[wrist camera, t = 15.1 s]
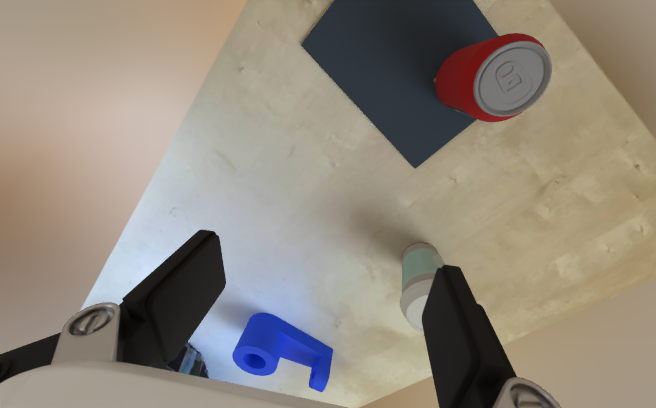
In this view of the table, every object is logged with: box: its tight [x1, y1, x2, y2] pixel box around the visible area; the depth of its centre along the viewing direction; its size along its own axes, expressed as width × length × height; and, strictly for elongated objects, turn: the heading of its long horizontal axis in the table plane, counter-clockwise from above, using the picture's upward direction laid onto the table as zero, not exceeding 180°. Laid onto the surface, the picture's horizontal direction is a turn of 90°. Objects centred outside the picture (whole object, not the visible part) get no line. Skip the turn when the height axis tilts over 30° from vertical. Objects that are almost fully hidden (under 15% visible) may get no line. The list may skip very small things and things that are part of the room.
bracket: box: [233, 313, 333, 392], centre depth 54 cm, size 20×9×8 cm, turn 65°
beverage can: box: [436, 33, 552, 122], centre depth 25 cm, size 7×7×12 cm
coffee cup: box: [400, 243, 445, 333], centre depth 38 cm, size 8×8×12 cm
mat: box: [301, 0, 499, 168], centre depth 31 cm, size 22×16×1 cm
